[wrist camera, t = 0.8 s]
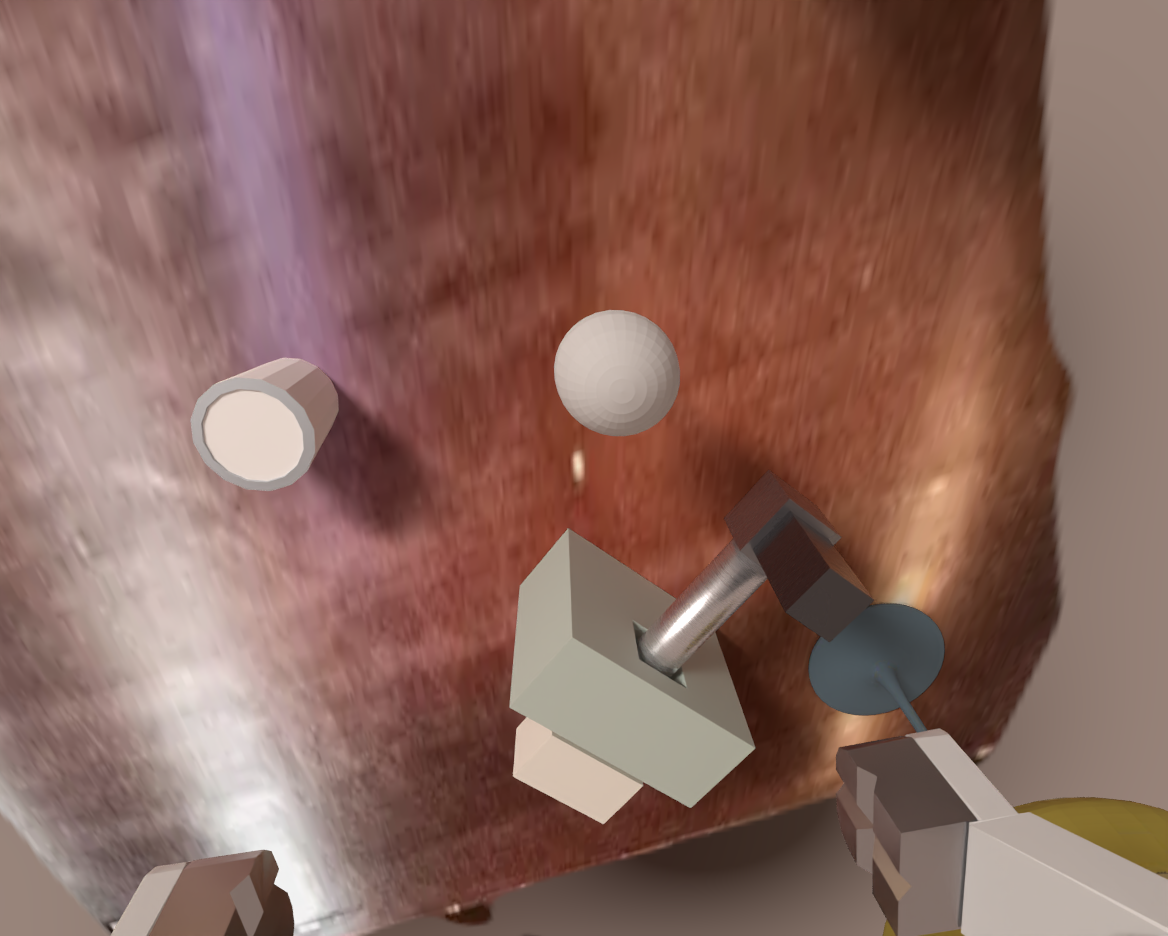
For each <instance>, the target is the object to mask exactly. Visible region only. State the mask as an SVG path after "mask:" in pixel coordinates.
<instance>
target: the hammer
mask: <svg viewBox="0 0 1168 936" xmlns="http://www.w3.org/2000/svg"><path fill="white" fill-rule="evenodd" d="M724 520H725V522H726V524H727V526H728V528H729V530H730V532H731V534H732V536H733V539H732V540H731V541H730V542H729V544H728V545H727V546H726V547H725V548H724V549H723V550H722V551H721V552H720V553H719V554H718V555H717V556H716V557H715V558H714V560H713V561H712V562H711V563H710V564H709V565H708V566H707V567H706V568H705V569H704V570H703V571H702V572H701V573H700V574H699V575H698V577H697V578H696V579H695V580H694V581H693V582H692V583H691V584H690V585H689V586H688V587H687V588H686V589H685V590H684V591H683V593H682V594H681V595H680V596H679V597H678V598H677V599H676V600H675V601H674V602H673V603H672V604H671V605H670V606H669V607H668V609H667V610H666V611H665V612H664V613H663V614H662V615H661V616H660V617H659V618H658V619H657V620H656V621H655V622H654V623H653V625H652V626H651V627H650V628H649V629H648V630H647V631H646V632H645V633H644V634H643V635H642V636H641V637H640V638H639V639H638V640H637V642H636V644H637V650H638V656H639V660H641V661H642V662H644V663H646V664H647V665H649V666H650V667H652V668H654V669H655V670H657V671H659V672H660V673H662V674H664V675H665V676H667V677H668V678H670V677H671V676H672V675H673V674H674V673H675V672H676V671H677V670H678V669H679V668H680V667H681V666H682V665H683V664H684V663H685V662H686V661H687V660H688V659H689V658H690V657H691V656H692V655H693V654H694V653H695V652H696V651H697V650H698V649H699V648H700V647H701V646H702V645H703V644H704V643H705V642H706V641H707V640H708V639H709V638H710V637H711V636H712V635H713V634H714V633H715V632H716V631H717V630H718V629H719V628H720V626H721V625H722V624H723V623H724V622H725V621H726V620H727V619H728V618H729V617H730V616H731V615H732V614H733V613H734V612H735V611H736V610H737V609H738V608H739V607H740V606H741V605H742V604H743V603H744V602H745V601H746V600H747V599H748V598H749V597H750V596H751V595H752V594H753V593H754V592H755V591H756V590H757V589H758V588H759V587H760V586H761V585H762V584H763V583H764V582H765V581H766V580H767V579H768V580H769V582H770V584H771V586H772V588H773V590H774V591H775V593H776V595H777V597H778V599H779V601H780V603H781V605H782V607H783V609H784V611H785V612H786V613H787V614H789V615H790V616H792V617H793V618H795V619H796V620H797V621H799V622H800V623H802V624H803V625H805V626H806V627H808V628H809V629H811V630H812V631H814V632H815V633H816V634H818V635H819V636H821V637H822V638H824V639H825V640H827V641H828V642H831V641H832V640H833V639H834V638H835V637H836V636H837V635H838V634H839V633H840V632H841V631H842V630H843V629H845V628H846V627H847V626H848V625H849V624H850V623H851V622H852V621H853V620H854V619H855V618H856V617H857V616H858V615H859V614H860V613H861V612H863V611H864V610H865V609H866V608H867V607H868V606H869V605H870V604H871V603H872V602H873V601H874V599H873V598H872V596H871V595H870V594H869V592H868V591H867V590H866V588H865V587H864V586H863V584H862V583H861V582H860V580H859V579H858V578H857V576H856V575H855V574H854V572H853V571H852V570H851V568H850V567H849V566H848V564H847V563H846V562H845V560H844V559H843V558H842V556H841V555H840V553H839V552H838V551H837V549H836V548H835V547H834V544H835V543H836V542H837V541H838V540H839V539H840V538H841V536H840V535H839V534H838V532H837V531H836V530H835V528H834V527H833V526H832V525H831V523H830V522H829V521H828V520H827V518H826V517H825V516H824V514H823V513H822V512H821V511H820V509H819V508H818V507H817V506H816V505H815V504H814V503H812V502H811V501H810V500H808V499H807V498H806V497H804V496H803V495H802V494H800V493H799V492H798V491H796V490H795V489H794V488H793V487H791V486H790V485H789V484H787V483H786V482H785V481H783V480H782V479H781V478H779V477H778V476H777V475H775V474H774V473H773V472H771V471H770V470H768V471H767V472H766V473H765V474H764V475H763V476H762V478H761V479H760V480H759V481H758V482H757V483H756V484H755V485H754V486H753V487H752V488H751V489H750V491H749V492H748V493H747V494H746V495H745V496H744V497H743V498H742V499H741V500H740V501H739V502H738V504H737V505H736V506H735V507H734V508H733V509H732V510H731V511H730V512H729V513H728V514H727V515H726V517H725V518H724Z"/></svg>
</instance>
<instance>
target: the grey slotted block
mask: <svg viewBox="0 0 1168 936" xmlns="http://www.w3.org/2000/svg"><path fill="white" fill-rule="evenodd" d="M675 600H676V598H674V597H673V596H671V595H669V594H668V593H666V592H665V591H663V590H662V589H660V588H659V587H657V586H656V585H654V584H653V583H651V582H650V581H648V580H647V579H645V578H644V577H642V576H641V575H639V574H637V573H636V572H634V571H633V570H631V569H630V568H628V567H627V566H625V565H624V564H622V563H621V562H619V561H618V560H616V559H615V558H613V557H612V556H610V555H608V554H607V553H605V552H604V551H602V550H601V549H599V548H598V547H596V546H595V545H593V544H592V543H590V542H589V541H587V540H586V539H584V538H583V537H581V536H580V535H578V534H576V533H575V532H573V531H572V530H570V529H569V528H568V529H567V530H566V532H565V533H564V534H563V535H562V536H561V538H560V539H559V540H558V541H557V542H556V543H555V545H554V546H553V547H552V548H551V549H550V551H549V552H548V553H547V554H546V555H545V557H544V558H543V559H542V560H541V561H540V563H539V564H538V565H537V566H536V567H535V569H534V570H533V571H532V572H531V573H530V575H529V576H528V577H527V578H526V579H525V580H524V582H523V583H522V584H521V585H520V590H519V602H518V614H517V625H516V637H515V649H514V660H513V672H512V684H511V695H510V708H511V709H513V710H515V711H517V712H519V713H520V714H522V715H524V716H526V717H528V718H529V719H531V720H533V721H535V722H537V723H538V724H540V725H542V726H544V727H546V728H547V729H549V730H551V731H553V732H555V733H556V734H558V735H560V736H562V737H564V738H565V739H567V740H569V741H571V742H573V743H574V744H576V745H578V746H580V747H582V748H583V749H585V750H587V751H589V752H591V753H592V754H594V755H596V756H598V757H600V758H601V759H603V760H605V761H607V762H609V763H610V764H612V765H614V766H616V767H618V768H619V769H621V770H623V771H625V772H627V773H628V774H630V775H632V776H634V777H636V778H637V779H639V780H641V781H643V782H645V783H646V784H648V785H650V786H652V787H654V788H655V789H657V790H659V791H661V792H663V793H664V794H666V795H668V796H670V797H672V798H673V799H675V800H677V801H679V802H681V803H682V804H684V805H686V806H688V807H690V808H691V807H692V806H693V805H695V804H696V803H697V802H698V801H699V800H700V799H701V798H702V797H703V796H704V795H705V794H706V793H708V792H709V791H710V790H711V789H712V788H713V787H714V786H715V785H716V784H717V783H718V782H719V781H721V780H722V779H723V778H724V777H725V776H726V775H727V774H728V773H729V772H730V771H731V770H732V769H734V768H735V767H736V766H737V765H738V764H739V763H740V762H741V761H742V760H743V759H744V758H745V757H747V756H748V755H749V754H750V753H751V752H752V751H753V750H754V749H755V745H754V742H753V739H752V737H751V734H750V731H749V728H748V725H747V722H746V719H745V716H744V714H743V711H742V708H741V705H740V702H739V699H738V696H737V694H736V691H735V688H734V685H733V682H732V679H731V676H730V673H729V671H728V668H727V665H726V662H725V659H724V656H723V653H722V650H721V648H720V645H719V642H718V639H717V636H716V633H714V634H713V635H712V636H711V637H710V638H709V639H708V640H707V641H706V642H705V643H704V644H703V645H702V646H701V647H700V648H699V649H698V650H697V651H696V652H695V653H694V654H693V655H692V656H691V657H690V658H689V659H688V660H687V661H686V662H685V663H684V664H683V665H682V666H681V667H680V668H679V669H678V670H677V671H676V672H675V673H674V674H673V675H672V676H671V677H670V678H668V677H667V676H665V675H664V674H662V673H660V672H659V671H657V670H655V669H654V668H652V667H650V666H649V665H647V664H646V663H644V662H642V661H641V660H639V656H638V650H637V644H636V642H637V640H638V639H639V638H640V637H641V636H642V635H643V634H644V633H645V632H646V631H647V630H648V629H649V628H650V627H651V626H652V625H653V623H654V622H655V621H656V620H657V619H658V618H659V617H660V616H661V615H662V614H663V613H664V612H665V611H666V610H667V609H668V607H669V606H670V605H671V604H672V603H673V602H674V601H675Z"/></svg>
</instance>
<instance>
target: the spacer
mask: <svg viewBox="0 0 1168 936" xmlns="http://www.w3.org/2000/svg"><path fill="white" fill-rule="evenodd" d="M513 777H515V778H517V779H518V780H520V781H522V782H524V783H526V784H528V785H530V786H532V787H534V788H536V789H538V790H539V791H541V792H543V793H545V794H547V795H549V796H551V797H553V798H555V799H557V800H558V801H560V802H562V803H564V804H566V805H568V806H570V807H572V808H574V809H576V810H578V811H579V812H581V813H583V814H585V815H587V816H589V817H591V818H593V819H595V820H597V821H598V822H600V823H602V824H604V823H605V822H606V821H607V820H608V819H609V818H610V817H611V816H612V815H613V814H614V813H615V812H616V811H618V810H619V809H620V808H621V807H622V806H623V805H624V804H625V803H626V802H627V801H628V800H629V799H630V798H631V797H632V796H633V795H634V794H635V793H636V792H637V791H638V790H639V789H640V788H641V787H642V786H643V781H641V780H639V779H637V778H636V777H634V776H632V775H630V774H628V773H627V772H625V771H623V770H621V769H619V768H618V767H616V766H614V765H612V764H610V763H609V762H607V761H605V760H603V759H601V758H600V757H598V756H596V755H594V754H592V753H591V752H589V751H587V750H585V749H583V748H582V747H580V746H578V745H576V744H574V743H573V742H571V741H569V740H567V739H565V738H564V737H562V736H560V735H558V734H556V733H555V732H553V731H551V730H549V729H547V728H546V727H544V726H542V725H540V724H538V723H537V722H535V721H533V720H531V719H529V718H528V717H527V718H526V719H525V720H524V721H523V722H522V723H521V724H520V725H519V726H518V728H517V729H516V743H515V757H514V771H513Z"/></svg>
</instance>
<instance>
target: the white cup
mask: <svg viewBox="0 0 1168 936" xmlns="http://www.w3.org/2000/svg"><path fill="white" fill-rule="evenodd" d="M338 411H339V408H338V394H337V392H336V390H335V388H334V385H333V383H332V381H331V379H330V378H329V377H328V376H327V375H326V374H325V373H324V372H323V371H322V370H321V369H320V368H319V367H317V366H315V365H313V364H311V363H309V362H306V361H304V360H302V359H293V358H281V359H278V360H275V361H272V362H269V363H266V364H264V365H261V366H259V367H256V368H254V369H251V370H249V371H246V372H244V373H241V374H239V375H236V376H234V377H231V378H228V379H226V380H223V381H221V382H218V383H216V384H214V385H212V386H211V387H210V388H209V389H208V390H207V391H206V392H205V393H204V394H203V395H202V396H201V397H200V398H199V399H198V400H197V403H196V406H195V408H194V411H193V414H192V417H191V428H192V436H193V443H194V445H195V446H196V448H197V450H198V452H199V453H200V455H201V457H202V459H203V461H204V462H205V464H206V465H208V466H209V467H210V468H211V469H212V470H213V471H214V472H216V473H217V474H218V475H219V476H220V477H221V478H222V479H224V480H226V481H228V482H231V483H233V484H235V485H238V486H240V487H242V488H245V489H250V490H263V491H272V490H275V489H279V488H282V487H285V486H289V485H292V484H293V483H294V482H295V481H296V480H297V479H299V478H300V477H301V476H302V475H303V474H304V473H306V472H307V471H308V469H309V467H310V465H311V463H312V462H313V460H314V458H315V456H316V454H317V453H318V451H319V449H320V447H321V445H322V444H323V442H324V440H325V438H326V436H327V435H328V433H329V431H330V429H331V427H332V425H333V423H334V421H335V419H336V416H337V414H338Z"/></svg>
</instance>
